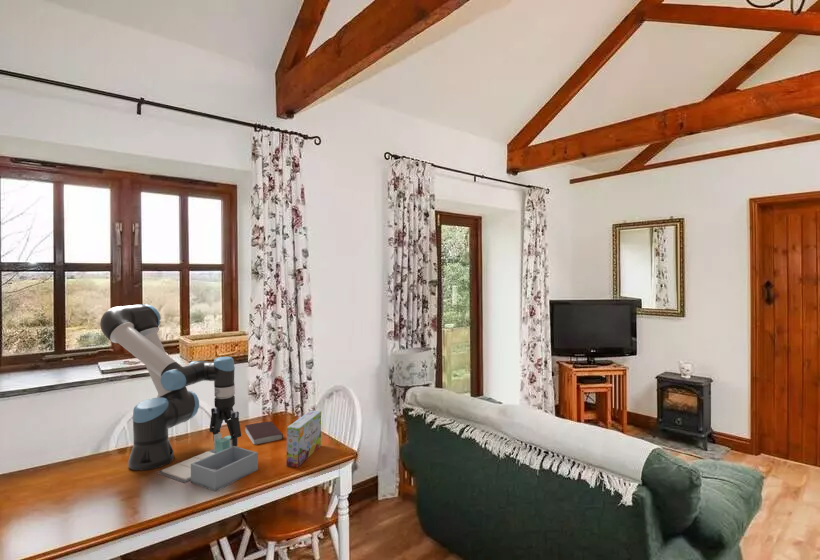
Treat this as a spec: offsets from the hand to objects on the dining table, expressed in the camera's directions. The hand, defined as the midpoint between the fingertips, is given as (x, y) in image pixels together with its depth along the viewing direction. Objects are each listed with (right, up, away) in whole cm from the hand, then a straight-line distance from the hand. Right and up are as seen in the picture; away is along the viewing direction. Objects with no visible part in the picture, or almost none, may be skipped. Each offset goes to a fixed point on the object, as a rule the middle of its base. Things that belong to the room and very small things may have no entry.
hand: (225, 451), depth 176 cm
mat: (-5, -1, -9) cm, 10 cm away
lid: (-4, -1, -8) cm, 9 cm away
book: (+8, -1, +21) cm, 22 cm away
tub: (+8, -1, -19) cm, 20 cm away
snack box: (+32, -1, -1) cm, 32 cm away
